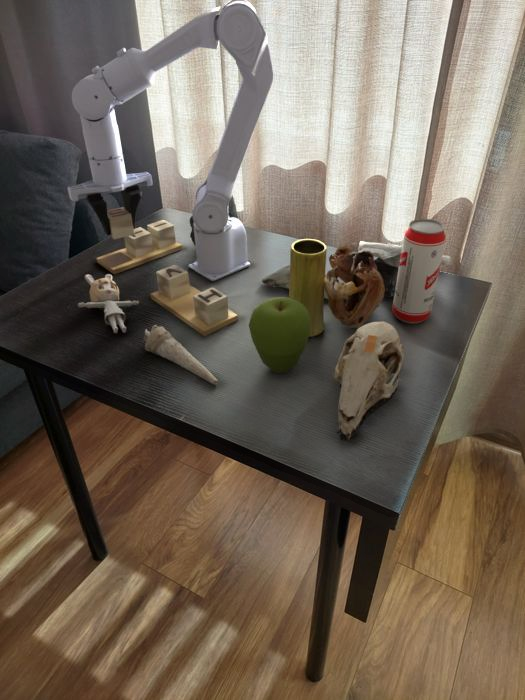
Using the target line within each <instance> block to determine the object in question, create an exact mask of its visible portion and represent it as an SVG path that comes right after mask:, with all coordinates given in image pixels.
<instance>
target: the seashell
mask: <svg viewBox="0 0 525 700" xmlns="http://www.w3.org/2000/svg"><path fill="white" fill-rule="evenodd" d="M143 341H144V342H145V344H144V349H145V350H146V351H147V352H150V353H152V354H153V355H154V354H155V355H157V356H159V357H162V358H164V359H166V360H168V361H170V362H173V363H175V364H176V365H178V366H180V367H181V368H184V369H185V370H187V371H189V372H191V373H192V374H194V375H195V376H197V377H200V378H201V379H203V380H205V381H207V382H208V383H210V384H212V385H214V386H217V384H219V381H218V379H217V378H216V377H215V376H214V375H213V374H212V373H211V372H210V371H209V369H207V368H206V367H205V365H203V364H202V363H201V362H200V361H199V360H198V359H196V357H194V355H192V354H191V353H190V351H189V350H187V349H186V347H185V346H182V343H180V342H179V341H178V340H177V339H175V337H174V336H173V335H172V334H171V333H170V332H169V331H168V330H166V329H165V327H164V326H158V325H156V324H154V325H152V327H151V330H150V331H148V329H147V328H146V329H145V330H144V336H143Z"/></svg>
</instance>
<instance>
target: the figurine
mask: <svg viewBox="0 0 525 700" xmlns="http://www.w3.org/2000/svg"><path fill="white" fill-rule="evenodd" d="M402 242H403V239H402ZM401 250H402V244H401V245H398V244H391V243H390V242H389V243H387V244H386V243H381V242H367V241H364V240H360V241H359V244H358V250H357V251H358V252H357V253H359V252H362V251H368V252H371V253H373V254H377V255H381V256H382V257H388V256H393V255H395V254H399V253H401ZM442 265H443V266H445V267H447V268H451V267H452V266H453V262H452V257H451V256H450V255H443V256H442V261H441V266H442Z"/></svg>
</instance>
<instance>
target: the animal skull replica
mask: <svg viewBox="0 0 525 700" xmlns="http://www.w3.org/2000/svg"><path fill="white" fill-rule="evenodd" d="M403 362H404V346H403V343H402V342H401V339H400V335H399V332H398V331H397V329H396V328H395V326H394V325H393V324H391V323H389V322H387V321H384V320H382V321H372V322H368V323H366V324H363V325H362V326H361V327H359V328H357V329H356V331H355V333H354V334H352V335H351V336H349V337H348V338H347V339H346V340H345V342H344V343H343V347H342V350H341V353H340V355H339V357H338V361H337V363H336V366H335V368H334V374H333V377H334V379H335V380H336V381H337V383H339V387H340V392H339V393H340V394H339V399H338V409H337V410H338V431H337V432H336V434H338V435H339V437H340V440H346V441H349V440H350V438H353V439H356V437H357V436H358V435H359V428H360V426H362V425H363V423H364V421H365V420H366V419H367V418H368V417H369V416H370V415H371V414H372V413H374V412H375V411H376V410H377V409H379V407H380V406H381V405H382V403H386V402H387V401H388V400H390V399H392V397H393V396H395V393H396V392H397V390H398V385H399V380H400V374H401V371H402V369H401V368H402V365H403Z"/></svg>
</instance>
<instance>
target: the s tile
mask: <svg viewBox="0 0 525 700" xmlns="http://www.w3.org/2000/svg"><path fill="white" fill-rule="evenodd" d="M107 214H108V220H109V224H110V229H111V235H109V237H110V238H112V239H113V240H118V239H121V238H124V237H126V236H130V235H134V229H133V223H132V217H131V214H130V213H129V212H128V211H127V210H126V209H125V206H124V207H123V206H121V207H118V208H112V209H109V210H108V209H107Z"/></svg>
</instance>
